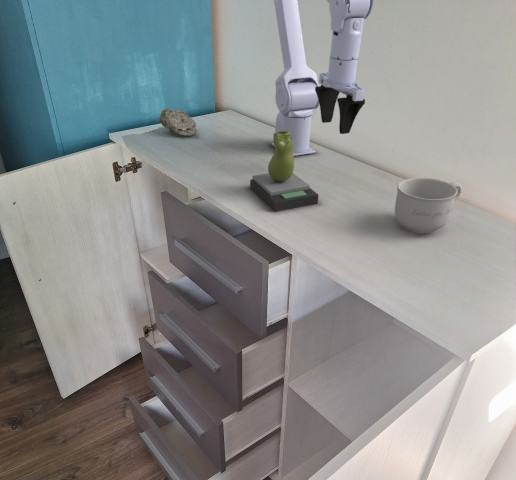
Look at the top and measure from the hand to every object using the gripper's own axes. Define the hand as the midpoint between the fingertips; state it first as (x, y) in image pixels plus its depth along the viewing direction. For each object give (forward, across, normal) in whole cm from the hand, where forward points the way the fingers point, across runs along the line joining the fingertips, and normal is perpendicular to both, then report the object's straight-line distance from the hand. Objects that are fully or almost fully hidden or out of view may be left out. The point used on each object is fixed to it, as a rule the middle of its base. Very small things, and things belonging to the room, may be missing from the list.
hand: (335, 127), depth 110 cm
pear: (+8, +5, -16) cm, 18 cm away
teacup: (+10, +29, +5) cm, 31 cm away
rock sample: (+11, -38, -23) cm, 46 cm away
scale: (+10, +7, -16) cm, 20 cm away
